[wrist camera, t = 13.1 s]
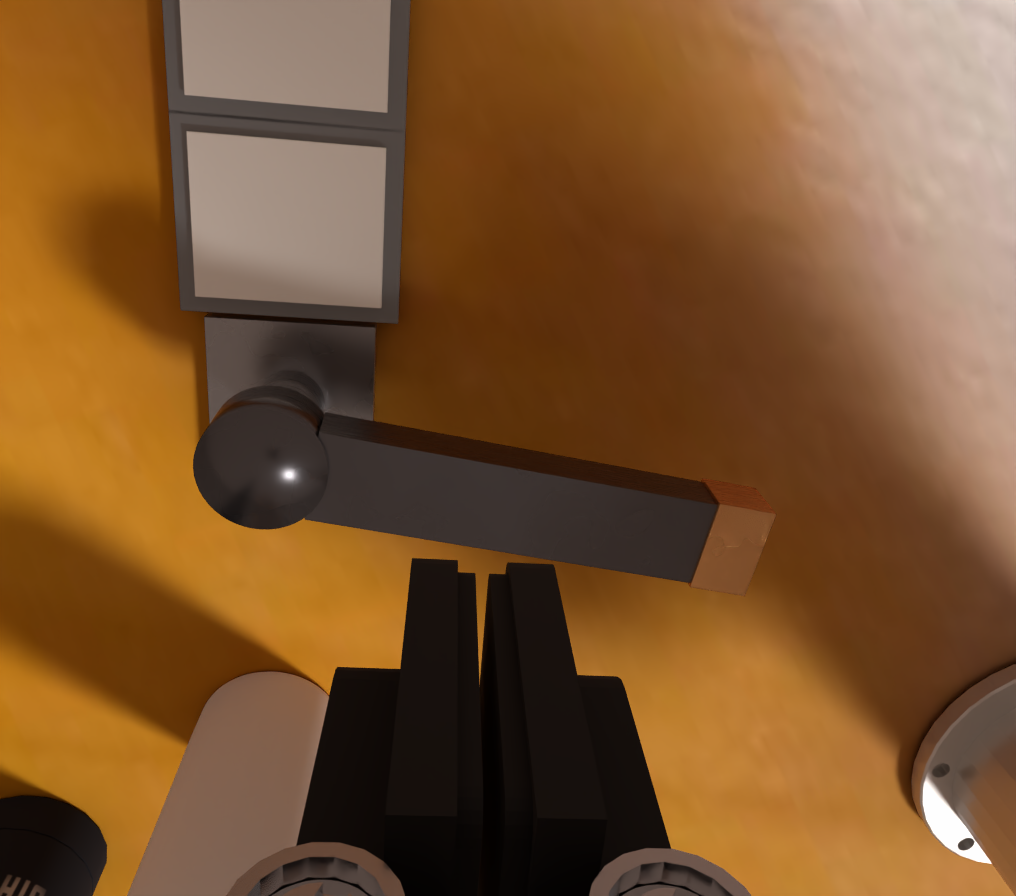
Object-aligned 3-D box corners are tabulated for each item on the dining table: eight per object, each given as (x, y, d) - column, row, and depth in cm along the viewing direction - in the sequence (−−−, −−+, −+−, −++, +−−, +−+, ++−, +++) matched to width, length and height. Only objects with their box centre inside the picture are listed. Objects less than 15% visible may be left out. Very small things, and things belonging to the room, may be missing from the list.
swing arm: (204, 487, 29) (187, 517, 27) (217, 374, 27) (200, 397, 25) (721, 574, 32) (742, 607, 30) (758, 476, 30) (781, 504, 28)
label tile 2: (405, 129, 29) (405, 130, 28) (398, 318, 32) (397, 325, 31) (175, 109, 29) (166, 109, 28) (186, 304, 31) (178, 312, 30)
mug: (161, 722, 38) (51, 981, 27) (272, 637, 37) (205, 872, 26) (320, 845, 42) (280, 1119, 31) (426, 771, 40) (425, 1028, 29)
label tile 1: (414, -92, 27) (413, -99, 26) (405, 132, 29) (404, 133, 28) (162, -121, 26) (151, -129, 25) (175, 112, 29) (166, 113, 28)
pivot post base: (376, 322, 32) (368, 357, 28) (372, 469, 34) (364, 522, 30) (209, 311, 31) (176, 346, 27) (216, 463, 34) (187, 516, 29)
